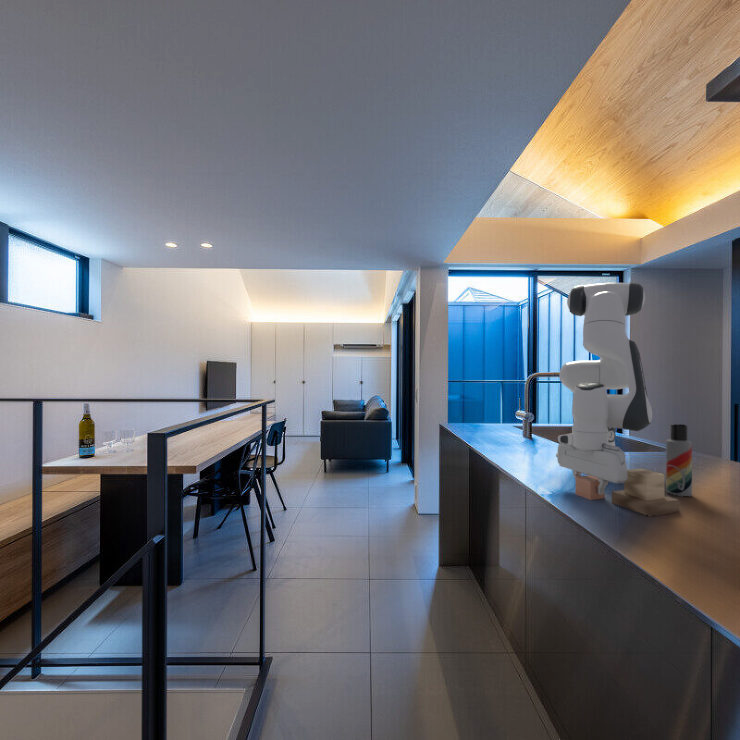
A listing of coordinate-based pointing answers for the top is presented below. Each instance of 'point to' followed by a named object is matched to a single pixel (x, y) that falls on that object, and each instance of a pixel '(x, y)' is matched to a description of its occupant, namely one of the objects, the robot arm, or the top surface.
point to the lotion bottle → (679, 461)
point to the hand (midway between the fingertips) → (589, 490)
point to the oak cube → (644, 484)
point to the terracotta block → (587, 487)
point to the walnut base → (645, 504)
